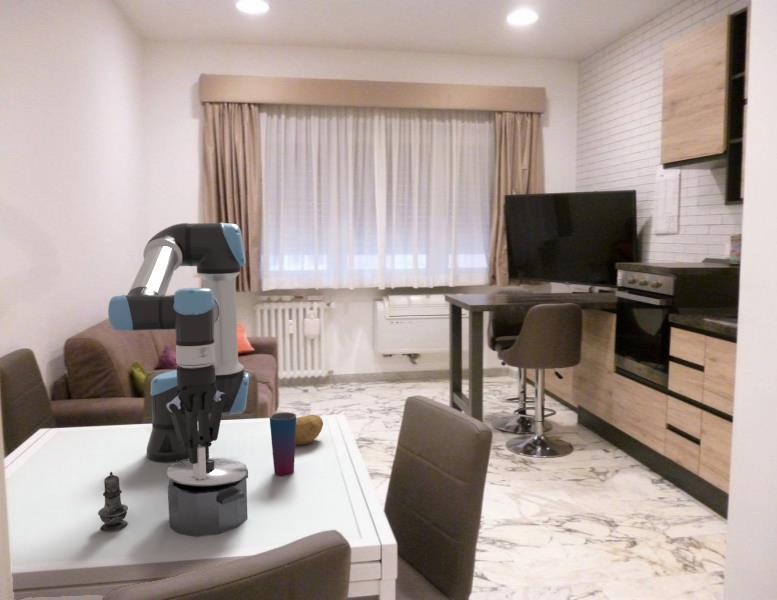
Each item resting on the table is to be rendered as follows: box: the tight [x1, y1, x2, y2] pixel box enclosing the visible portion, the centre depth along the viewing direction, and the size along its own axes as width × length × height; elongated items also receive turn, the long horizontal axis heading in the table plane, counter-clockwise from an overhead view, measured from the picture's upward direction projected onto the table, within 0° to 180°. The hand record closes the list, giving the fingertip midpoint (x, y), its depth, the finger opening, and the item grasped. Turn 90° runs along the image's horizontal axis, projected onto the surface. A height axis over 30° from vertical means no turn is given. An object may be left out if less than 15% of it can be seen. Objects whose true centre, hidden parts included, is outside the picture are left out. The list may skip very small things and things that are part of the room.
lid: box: [166, 457, 248, 486], centre depth 133 cm, size 17×17×3 cm
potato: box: [295, 414, 324, 446], centre depth 183 cm, size 10×14×8 cm
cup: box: [269, 411, 297, 477], centre depth 159 cm, size 7×7×15 cm
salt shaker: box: [97, 471, 129, 533], centre depth 130 cm, size 6×6×12 cm
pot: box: [167, 469, 249, 537], centre depth 134 cm, size 20×17×9 cm
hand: (199, 476), depth 127 cm, fingers closed
